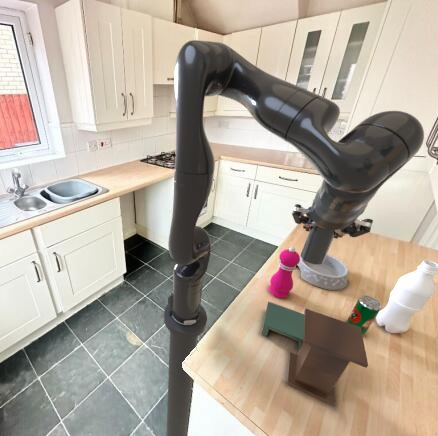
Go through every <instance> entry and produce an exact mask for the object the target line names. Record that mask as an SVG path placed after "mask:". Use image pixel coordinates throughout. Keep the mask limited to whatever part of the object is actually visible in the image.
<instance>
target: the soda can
mask: <svg viewBox="0 0 438 436" xmlns="http://www.w3.org/2000/svg"><path fill="white" fill-rule="evenodd" d="M381 310H382V303H381V301H380V300H378V299H377V298H375V297H373V296H370V295H362V296H360V297H358V299H357V300H356V303H355V304H354V306H353V309H351V312H350V314H349V316H348V317H347V319H346V321H345V322H347V323H350V324H353V325H355V326H358V327H361V331H362V335H366V333H367V332H368V330H369V328H370V327H371V325H372V324H373V323H374V321H375V319H376V317H377V314H378V313H379V311H381Z"/></svg>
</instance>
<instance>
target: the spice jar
mask: <svg viewBox="0 0 438 436" xmlns="http://www.w3.org/2000/svg"><path fill="white" fill-rule="evenodd" d="M335 234H336V232H335V231H334V230H330V229H326V228H323V227H321V226H316V227H312V226H311V227H310V229H309V231H308V233H307V236H306V238H305V241H304V244H303V247H302V250H301V253H300V255H301V258H302V259H303V260H305V261H307V262H309V263H312V264H322V263H323V262H324V260H325V258H326V255H327V254H328V253H329V251H330V248H331V245H332V244H333V241H334V239H335V238H334V236H335Z"/></svg>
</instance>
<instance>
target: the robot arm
mask: <svg viewBox="0 0 438 436" xmlns="http://www.w3.org/2000/svg"><path fill="white" fill-rule="evenodd" d="M173 81H174V104H175V107H174V108H175V122H176V123H175V127H176V128H175V132H176V133H175V160H174V173H173V175H174V176H173V202H172V215H171V223H170V229H169V235H168V242H167V244H168V253H169V255H170V258H171V260H172V261H173V262H174V266H173V269H172V291H171V293H170V294H169V295H168V296H167V304H168V303H169V304H170V308H169V316H171V317H172V318H173V320H174V321H175V322H176V323H177V324H179V325H182V326H192V325H194V324H196V323H197V322H198V320H199V316H200V305H201V303H202V296H203V287H204V279H205V275H206V273H207V271H208V268H209V263H210V257H211V252H212V242H211V237H210V235H209V234H208V231H207V230H206V229H205V228H203V227H201V226H199V225H197V223H198V221H199V220H198V219H199V217H200V215H201V214H202V211H203V209H204V207H205V206H206V204H207V201H208V200H209V198H210V195H211V193H212V189H213V185H214V177H215V169H216V159H215V154H214V151H213V149H212V146H211V143H210V141H209V139H208V136H207V134H206V131H205V124H204V111H205V99H206V97H214V96H220V97H224V98H227V99H230V100H233V101H235V102H238V103H239V104H240V105H242V106H243V107H245V109H246V110H247V111H248V112H249V114H250V115H251V116H252V118H253V120H255V121H256V122H257V124H259V125H260V127H262V128H264V129H265V130H266V131H268V132H269V133H271V134H273V135H274V136H276V137H278V138H279V139H281V140H283V141H284V142H286V143H287V144H289V145H291V146H293V147H294V148H295V149H296V150H297V151H298V152H299V153H300V154H301V155H302V157H304V158H305V159H306V160H307V161H308V162H309V164H311V166H312V167H313V168H314V169H315V171H316V172H317V173H318V174H319V175H320V177H322V182H321V185H320V187H319V188H318V189H317V191H316V193H315V196H314V199H313V200H312V203H311V206H309V207H308V208H306V207H303V206H302V204H299V203H295V204H294V207H293V210H292V213H291V215H292V216H291V217H292V218H293V221H294V223H295V224H297V225H301V224H302V225H303V226H302V229H304V230H305V231H304V232H309V230H310V227H311V226H312V227H316V226H321V227H323V228H326V229H330V230H334V231H335V232H336V234H335V236H334V239H336V240H338V239H339V238H341V239H342V238H343V237H344V236H346V235H348V236H349V237H351V238H358V237H361V236H363V235H366V234H369V233H370V232H371V229H372V226H373V223H374V219H371V218H364V219H358V218H359V217H360V216H362V215H363V214H364V213H365V210H366V209H367V207H368V205H369V203H370V202H371V200H373V198H374V197H375V195H377V193H378V191H379V189H380V188H381V187H382V186H383V185H384V184H386V182H387V181H388V180H390V178H392V177H393V176H394V175H395V174H396V173H398V172H399V171H400V170H401V169H402V168H403V167H404V166H405V165H406V164H408V162H409V161H411V159H413V158H414V157H415V156H416V155H417V153H418V152H419V151H420V150H421V148H422V146H423V143H424V139H425V131H424V126H423V124H422V123H421V122H420V121H419V119H418V118H416V117H415V116H414V115H413V114H410V113H408V112H405V111H401V110H386V111H380V112H378V113H374V114H372V115H370V116H368V117H366V118H365V119H363V120H362V121H360V123H358V124H357V125H355V126H354V127H353V128H352V129H351V130H350V131H349V132H347V134H346V135H344V136H343V137H342V138H341V139H338V141H336V140H334V139H332V138H331V137H330V135H329V134H330V133H331V131H332V130H333V128H334V127H335V125H336V124H337V122H338V120H339V117H340V113H341V109H340V107H339V105H338V104H337V103H336V102H335V101H332V100H330V99H328V98H326V97H323V96H321V95H319V94H317V93H315V92H313V91H311V90H308V89H306V88H303V87H301V86H299V85H296V84H293V83H291V82H289V81H288V80H284V79H282V78H279V77H277V76H275V75H272V74H271V73H269V72H266V71H264V70H262V68H260V67H258V66H256V65H254V64H253V63H251V62H250V61H249V60H247V59H246V58H245V57H244V56H242V54H240V53H239V52H238V51H236V50H234V49H233V48H231V47H230V46H229V45H227V44H226V43H223V42H220V41H219V42H218V41H209V40H200V39H199V40H197V39H193V40H189V41H186V42H185V43H184V44H183V45H181V47H180V49H179V51H178V54H177V56H176V59H175V65H174V80H173ZM201 306H202V305H201Z"/></svg>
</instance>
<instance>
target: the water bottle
mask: <svg viewBox="0 0 438 436" xmlns="http://www.w3.org/2000/svg"><path fill="white" fill-rule="evenodd" d="M437 272H438V263H437V262H435V261H433V260H429V259H424V260H422V262H421V263H420V264H419V265H417V269H416V270H414V271H411V272H408V273H406V274H404V275H402V276H401V277H399V278H398V280H397V282H396V284H395V286H394V287H393V289H392V290H391V291H390V292H389V299H388V302H387V304H386V305H385V306H384V307H383V308H382V309H381V310H380V311H379V313H378V314H377V316H376V318H375V319H376V320H375V321H376V323H377V325H378V326H380V327H385V331H386V332H387V333H389V334H403V333H404V334H405V332H407V331H408V330H409V329H410V326H411V325H410V324H411V320H412V317H413V316H414V315H415V314H417V313H419V312H422V311H423V310H424V308H425V306H426V305H427V304H428V302H429V300H430V299H431V298H432V297H433V296H434V295H435V293H436V285H435V280H434V276H436V275H437Z"/></svg>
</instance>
